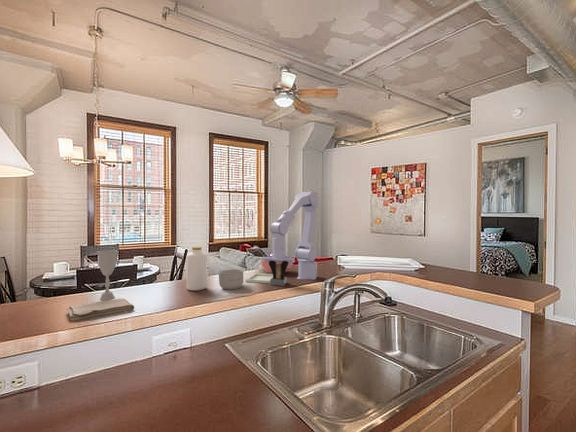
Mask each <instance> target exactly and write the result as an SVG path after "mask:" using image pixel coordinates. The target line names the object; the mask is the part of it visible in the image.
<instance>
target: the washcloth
mask: <svg viewBox="0 0 576 432" xmlns="http://www.w3.org/2000/svg"><path fill="white" fill-rule="evenodd" d="M66 310H67V312H68V318H69V319H70V321H72V322H75V321H76V322H77V321H81V320H89V319H94V318H95V319H96V318H99V317H106V316H112V315H116V314H121V313H129V312H132V311H133V310H135V305H134V304H132V303H130V301H128V300H127V299H125V298H113V299H109V300H100V301H94V302H89V303H88V302H87V303H80V304H75V305H70V306H69V307H67V308H66Z"/></svg>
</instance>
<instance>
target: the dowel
mask: <svg viewBox="0 0 576 432" xmlns="http://www.w3.org/2000/svg"><path fill="white" fill-rule="evenodd" d="M281 276H282V266H281V264H276V279H282V277H281Z"/></svg>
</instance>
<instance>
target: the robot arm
mask: <svg viewBox="0 0 576 432" xmlns="http://www.w3.org/2000/svg"><path fill="white" fill-rule="evenodd" d="M294 198H295V199H294V201H293V202H292V204H291V206H290V207H288V208H289V209H288V210H284V211H283V212H282V214H281V215H280V217H278V218H277V220H276V221H274V222H272V223H271V225H270V229H269V231H270V233H271V238H272V254H273V257H269V256H263V257H262V258H263V262H265V261H267V262H269V266H270V268H271V270H272V273H273V278H275V277H276V262H283V263H281V266H282V276H281V277H282V278H284V277H285V275H286V272H287V271H286V268H287V266H288V263H289V262H292V264H294V263H295V262H296V261H298V270H297V271H298V276H297V277H296V279H297V280H314V281H315V280H317V277H318V262H317V261H315V260H316V258H317V246H316V245H315V244H314V243H313V239H314V232H315V231H314V230H315V224H316V218H317V217H316V216H317V208H318V205H319V204H318V203H319V195H318V194H317V192H316V191H314V190H312V191H298V192H297V193H296V195H295V196H294ZM301 208H303V210H305V215H304V222H303V223H304V224H303V230H302V238H301V241H300V242H299V243H298V244H297V246H296V249H295V252H294V256H295V257H291V258H288V257H289V256H287V257H285V256H286V234H287V233H289V228H290V225H291V223H292V222H293V221H294V219H295V214H296V213H297V212H298V211H299V210H300V209H301ZM295 258H296V259H297V260H295ZM274 260H282V261H274Z"/></svg>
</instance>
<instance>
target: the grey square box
mask: <svg viewBox="0 0 576 432" xmlns="http://www.w3.org/2000/svg"><path fill="white" fill-rule="evenodd" d="M287 279H288V278H287V276H284V278H282V279H276V277H275V278H271V279H270V283H269V285H270V286H279V287H280V286H281V287H284V286H285V285H286V284H287V283H288V282H287V281H288V280H287Z"/></svg>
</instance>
